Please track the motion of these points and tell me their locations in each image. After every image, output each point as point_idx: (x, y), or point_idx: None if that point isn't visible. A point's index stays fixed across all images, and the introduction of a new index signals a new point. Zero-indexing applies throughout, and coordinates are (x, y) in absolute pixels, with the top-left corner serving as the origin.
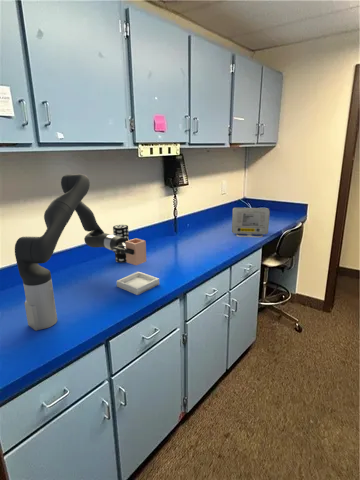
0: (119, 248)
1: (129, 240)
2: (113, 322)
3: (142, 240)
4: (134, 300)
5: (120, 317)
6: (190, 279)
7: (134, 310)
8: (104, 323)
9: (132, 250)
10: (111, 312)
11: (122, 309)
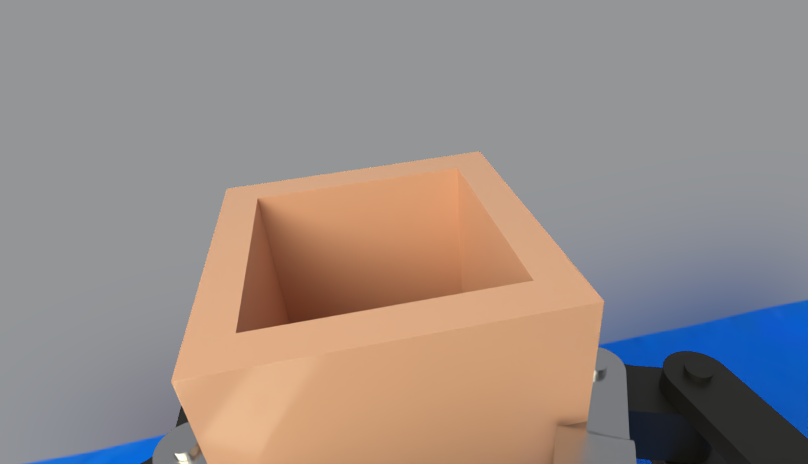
0: (771, 427)
1: (458, 315)
2: (751, 315)
3: (244, 212)
4: None
5: (708, 331)
6: (59, 459)
7: (615, 345)
8: (805, 328)
9: None
10: (765, 392)
11: None
